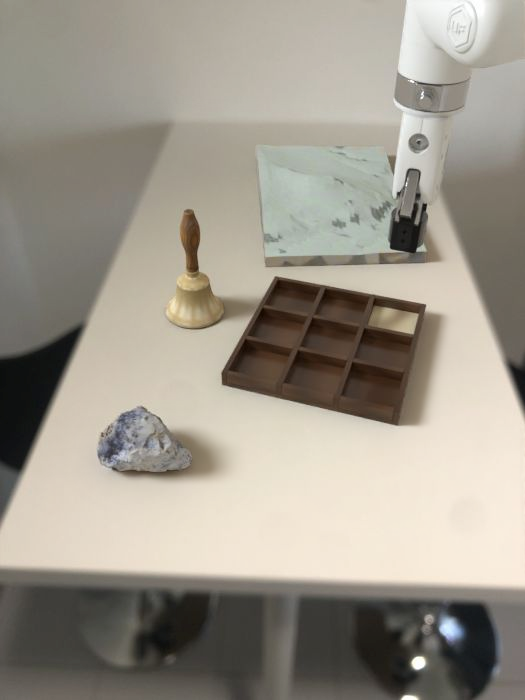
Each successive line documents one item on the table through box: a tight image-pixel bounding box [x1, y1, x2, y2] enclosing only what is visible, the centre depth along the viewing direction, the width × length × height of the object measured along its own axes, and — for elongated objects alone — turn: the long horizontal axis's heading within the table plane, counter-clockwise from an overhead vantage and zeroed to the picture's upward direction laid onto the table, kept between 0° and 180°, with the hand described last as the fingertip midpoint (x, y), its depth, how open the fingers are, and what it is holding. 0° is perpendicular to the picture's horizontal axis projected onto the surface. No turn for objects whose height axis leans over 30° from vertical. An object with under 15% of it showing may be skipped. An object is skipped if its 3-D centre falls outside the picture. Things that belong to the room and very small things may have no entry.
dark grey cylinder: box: [388, 206, 429, 248], centre depth 82 cm, size 4×4×4 cm
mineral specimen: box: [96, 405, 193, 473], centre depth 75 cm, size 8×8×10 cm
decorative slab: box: [255, 143, 428, 268], centre depth 118 cm, size 38×27×5 cm
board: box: [220, 275, 427, 426], centre depth 89 cm, size 22×22×2 cm
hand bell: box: [165, 208, 225, 330], centre depth 91 cm, size 8×8×16 cm
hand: (406, 238), depth 83 cm, fingers closed on dark grey cylinder, 4 cm apart
